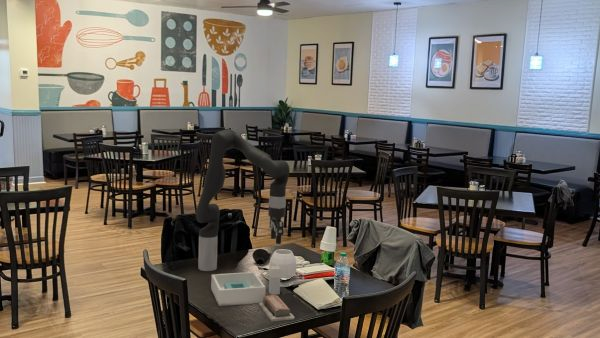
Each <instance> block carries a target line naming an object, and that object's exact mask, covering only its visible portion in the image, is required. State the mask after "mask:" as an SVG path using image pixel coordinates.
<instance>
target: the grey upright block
mask: <svg viewBox="0 0 600 338" xmlns="http://www.w3.org/2000/svg"><path fill="white" fill-rule="evenodd" d="M280 274H281V268H280V267H279V266H270V271H269V277H268V280H269V281H268V293H269V294H270V295H277V296H278V295H280V293H281V292H280V291H281V280H280Z"/></svg>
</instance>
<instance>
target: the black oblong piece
mask: <svg viewBox="0 0 600 338" xmlns="http://www.w3.org/2000/svg"><path fill="white" fill-rule="evenodd" d="M270 251H271V250H270V249H268V250H266V249H263V248H257V249H255V250H254V251H253V252H252V259H253V261H254V262H255V264H257V265H258V266H262V265H264V264H266V263H268V261H270V259H271V257H272V252H270ZM260 263H263V264H262V265H261V264H260Z"/></svg>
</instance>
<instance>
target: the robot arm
mask: <svg viewBox="0 0 600 338" xmlns="http://www.w3.org/2000/svg"><path fill="white" fill-rule="evenodd" d="M211 139H212V140H211V144H210V145H211V146H210V155H209V161H208V165H207V170H206V173H205V178H204V184H203V188H202V191H201V195H200V199H199V201H198V204H197V207H196V210H195V219H196V222H197V223H199V224H206V225H205V226H204V227H202V228H200V229H199V232H198V261H197V262H198V265H197V266H198V270H200V271H202V272H212V271H215V270H217V268H218V264H217V263H218V236H219V235H218V232H219V228H220V226H219V224H220V217H221V216H220V213H221V211H220V206H218V204H216V203H211V201H212V200H213V199H214V198H215V196H216V195H218V193H219V192H220V191H221V190H222V188H223V187H224V183H225V180H226V175H227V173H226V172H227V171H226V169H225V168H226V167H225V166H224V157H225V153H226V151H228V150H231V149H235V150H237V151H240V152H241V153H243V155H244V156H245V158H246V159H247V160H248V161H249V162H250V164H253V165H255V166H256V167H259V168H260V169H261V170H263V172H264V173H265V174H266V175H268V176H269V177H271V178H274V180H273V182H271V183H270V185H269V198H268V216H269V228H270V229H269V230H270V239H272V240H275V244H277V245H281V244H282V236H284V224H285V223H284V221H282V218H284V217H286V206H287V205H286V203H287V201H286V192H287V188H286V187H287V185H288V184H287V183H288V181H289V176H290V165H289V163H288V162H287V161H286V160H277V161H276V160H273V159H272V157H271V155H270V154H268V153H267V152H265V151H263V150H261V149H259V148H257V146H254V145H253V144H251V143H250V142H249V141H247V139H245V138H243V136H242V135H240V134H239V133H238V132H236V131H235V130H233V129H230V128H229V129H227V128H226V129H223V130H221V131H220V130H219V131H217V132H216V133H214V134H213V136H212V138H211ZM207 223H208V224H207Z"/></svg>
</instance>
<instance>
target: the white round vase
mask: <svg viewBox="0 0 600 338" xmlns="http://www.w3.org/2000/svg"><path fill="white" fill-rule="evenodd" d="M270 266H279V267H280V268H281V274H280V278H290V277H293V276H295V274H296V272H297V259H296V256H295V255H294V253H293V251H292V250H290V249H284V248H282V249H281V248H280V249H276V250H275V251H274V252H273V253H272V254H271V256H270V260H269V269H268V270H269V272H270ZM293 278H294V277H293Z"/></svg>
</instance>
